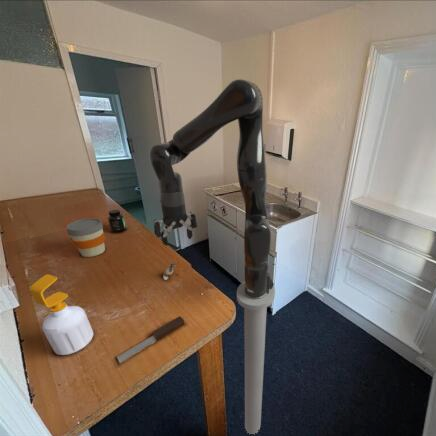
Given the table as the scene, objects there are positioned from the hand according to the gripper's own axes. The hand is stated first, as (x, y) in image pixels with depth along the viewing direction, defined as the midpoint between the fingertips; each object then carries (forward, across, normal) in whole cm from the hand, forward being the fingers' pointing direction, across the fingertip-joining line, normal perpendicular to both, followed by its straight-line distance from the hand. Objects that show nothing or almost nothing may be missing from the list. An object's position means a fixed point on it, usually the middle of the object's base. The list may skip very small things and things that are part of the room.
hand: (178, 241), depth 88 cm
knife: (+21, -17, -20) cm, 33 cm away
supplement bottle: (+22, -11, +64) cm, 69 cm away
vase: (+21, -2, +8) cm, 23 cm away
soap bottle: (+21, -35, -5) cm, 41 cm away
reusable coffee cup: (+22, -24, +48) cm, 58 cm away
